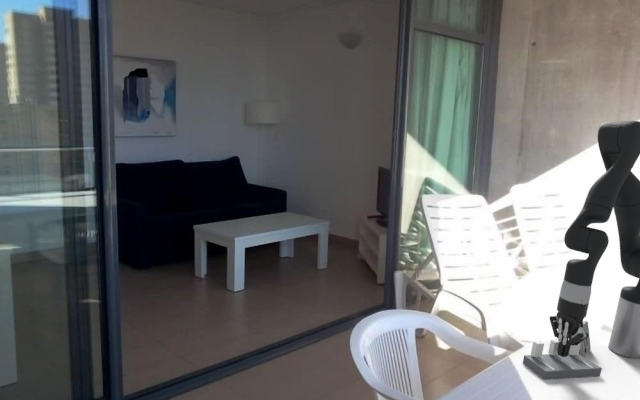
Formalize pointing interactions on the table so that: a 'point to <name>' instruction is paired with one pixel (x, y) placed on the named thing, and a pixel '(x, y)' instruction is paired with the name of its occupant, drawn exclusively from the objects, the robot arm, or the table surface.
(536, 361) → the block
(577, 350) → the inner knob
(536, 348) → the outer knob
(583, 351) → the electrical switch
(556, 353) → the knob
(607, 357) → the table surface
